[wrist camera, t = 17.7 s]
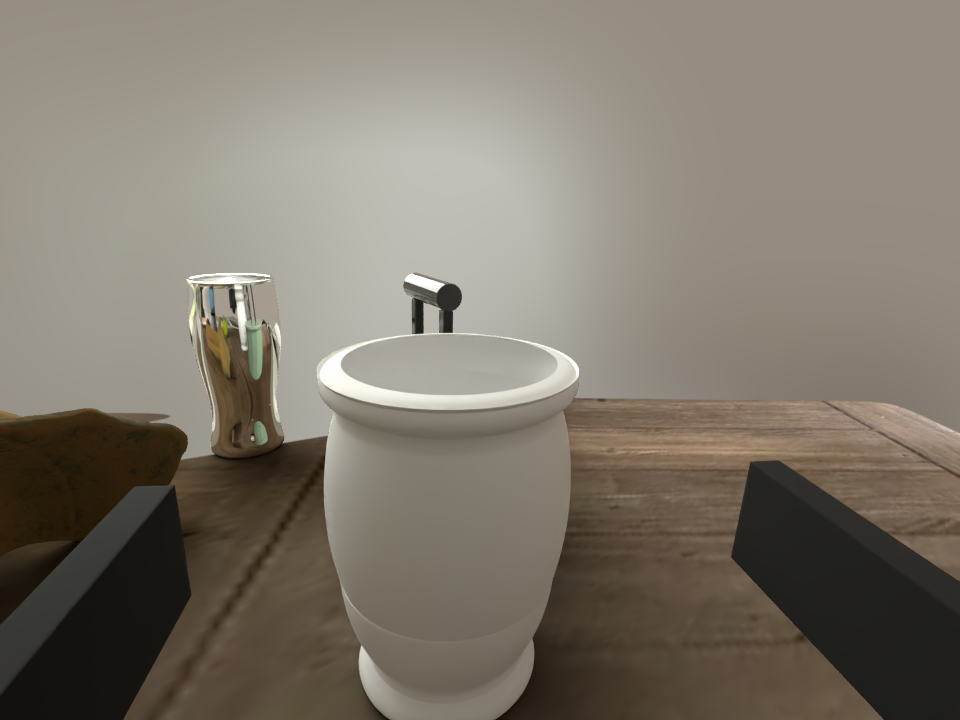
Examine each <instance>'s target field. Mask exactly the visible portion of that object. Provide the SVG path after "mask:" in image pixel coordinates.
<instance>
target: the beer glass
mask: <svg viewBox="0 0 960 720" xmlns="http://www.w3.org/2000/svg"><path fill="white" fill-rule="evenodd" d="M186 282H187V303H188V320H189V330H190V336H191V342H192V347H193V351H194V354H195V358H196V362H197V365H198V368H199V370H200V373H201V377H202V379H203V382H204V385H205V388H206V391H207V394H208V397H209V400H210V405H211V410H212V435H211V449H212V452H213V453H214V454H216V455H218V456H221V457H225V458H248V457H254V456H258V455H262V454H265V453H268V452H270V451H272V450H274V449H276V448H277V447H279V446H280V445H281V444H282V443H283V441H284V432H283V429H282V425H281V422H280V419H279V415H278V411H277V403H276V392H277V380H278V371H279V362H280V348H281V333H280V320H279V310H278V305H277V298H276V293H275V288H274V278H273V277H272V276H269V275H263V274H245V273H240V274H239V273H234V274H211V275H201V276H194V277H190V278H188V279H186Z"/></svg>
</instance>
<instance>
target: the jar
mask: <svg viewBox="0 0 960 720" xmlns="http://www.w3.org/2000/svg"><path fill="white" fill-rule="evenodd" d="M316 373H317V376H318V390H319V393H320V396H321V398H322V399H323V401H324V402H325V403H326V404H327V405H328V406H329V407H330V408H331V409H332V410H333V411H334V413H333V417H332V420H331V424H330V429H329V434H328V439H327V447H326V456H325V470H324V505H325V517H326V526H327V532H328V538H329V544H330V548H331V553H332V556H333V560H334V564H335V567H336V570H337V573H338V576H339V579H340V582H341V589H342V594H343V599H344V603H345V607H346V610H347V613H348V617H349V619H350V622H351V625H352V627H353V630H354V632H355V634H356V636H357V638H358V640H359V642H360V643H361V649H360V654H359V672H360V678H361V682H362V685H363V687H364V690H365V692H366V694H367V696H368V697H369V699H370V700H371V702H372V703H373V705H374V706H375V707H376V708H377V709H378V710H379V711H380V712H381V713H382V714H383V715H384V716H386V717H387V718H388V719H390V720H495V719H497V718H498V717H500V716H501V715H502V714H504V713H505V712H506V711H507V710H508V709H510V708H511V707H512V706H513V704H514V703H515V702H516V701H517V700H518V699H519V697H520V696H521V695H522V693H523V691H524V690H525V688H526V686H527V684H528V682H529V679H530V677H531V674H532V670H533V665H534V644H533V639H532V638H533V636H534V634H535V632H536V630H537V628H538V626H539V624H540V622H541V619H542V617H543V614H544V611H545V608H546V605H547V602H548V598H549V595H550V590H551V586H552V581H553V578H554V575H555V572H556V568H557V565H558V562H559V558H560V554H561V550H562V546H563V542H564V537H565V532H566V527H567V521H568V514H569V504H570V489H571V465H570V448H569V438H568V431H567V425H566V421H565V416H564V413H563V410H564V409H565V408H566V407H567V406H568V405H569V404H570V403H571V402H572V400H573V399H574V397H575V396H576V393H577V390H578V385H579V379H578V374H579V369H578V366H577V364H576V363H575V362H574V361H573V360H572V359H571V358H569V357H568V356H567V355H565V354H563V353H561V352H559V351H557V350H554V349H552V348H550V347H546V346H544V345H540V344H537V343H533V342H529V341H524V340H519V339H514V338H508V337H501V336H492V335H481V334H464V333H433V334H413V335H402V336H394V337H387V338H380V339H376V340H370V341H366V342H361V343H358V344H354V345H351V346H348V347H345V348H342V349H340V350H338V351H335V352H333V353H331V354H330V355H328V356H327V357H325V358H324V359H323V360H322V361H321V362H320V363H319V365H318V367H317V369H316Z"/></svg>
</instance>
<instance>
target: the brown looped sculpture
mask: <svg viewBox="0 0 960 720" xmlns="http://www.w3.org/2000/svg"><path fill="white" fill-rule="evenodd" d="M187 440H188V438H187V435H186V434H185V433H184V432H183V431H181V430H180V429H179V428H178V427H176V426H174V425H171V424H165V423H150V422H146V421H142V422H136V421H133V420H128V419H123V418H119V417H115V416H112V415H109V414H107V413H104V412H101V411H99V410H97V409H92V408H85V409H79V410H73V411H65V412H57V413H51V414H44V415H34V416H25V417H22V416H18V415H15V414H11V413H7V412H3V411H0V556H2V555H3V554H5V553H7V552H9V551H11V550H13V549H16V548H19V547H22V546H25V545H28V544H33V543H42V542H49V541H58V540H80V539H83V538H85V537H86V536H87V535H88V534H89V533H90V532H91V531H92V530H93V529H94V528H95V527H96V526H97V525H98V524H99V523H100V522H101V521H102V520H103V519H104V518H105V517H106V516H107V515H108V514H109V512H110V511H111V510H112V509H113V508H114V507H115V506H116V505H117V504H118V503H119V502H120V501H121V500H122V499H123V498H124V497H125V496H126V495H127V494H128V493H129V492H130V491H131V490H132V489H133V488H134V487H141V486H166V485H169V484H170V482H171V481H172V479H173V477H174V475H175V472H176V470H177V468H178V465H179V462H180V459H181V457H182V455H183V453H184V452H185V451H186V448H187V445H188V441H187Z"/></svg>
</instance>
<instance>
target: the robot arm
mask: <svg viewBox="0 0 960 720" xmlns="http://www.w3.org/2000/svg"><path fill="white" fill-rule="evenodd" d="M731 558H732V559H733V560H734V561H735V562H736V563H737V564H738V565H739V566H740V567H741V568H742V569H743V570H744V571H745V572H746V573H747V575H748V576H749V577H750V578H751V579H752V580H753V581H754V582H755V583H756V584H757V585H758V586H759V587H760V588H761V589H762V590H763V592H764V593H765V594H766V595H767V596H768V597H769V598H770V599H771V600H772V601H773V602H774V603H775V604H776V605H777V606H778V607H779V608H780V610H781V611H782V612H783V613H784V614H785V615H786V616H787V617H788V618H789V619H790V620H791V621H792V622H793V623H794V624H795V625H796V627H797V628H798V629H799V630H800V631H801V632H802V633H803V634H804V635H805V636H806V637H807V638H808V639H809V640H810V641H811V642H812V644H813V645H814V646H815V647H816V648H817V649H818V650H819V651H820V652H821V653H822V654H823V655H824V656H825V657H826V658H827V659H828V661H829V662H830V663H831V664H832V665H833V666H834V667H835V668H836V669H837V670H838V671H839V672H840V673H841V674H842V675H843V676H844V678H845V679H846V680H847V681H848V682H849V683H850V684H851V685H852V686H853V687H854V688H855V689H856V690H857V691H858V692H859V693H860V695H861V696H862V697H863V698H864V699H865V700H866V701H867V702H868V703H869V704H870V705H871V706H872V707H873V708H874V709H875V710H876V712H877V713H878V714H879V715H880V716H881V717H882V718H883V719H884V720H960V581H958V580H956V579H955V578H953V577H952V576H950V575H949V574H947V573H946V572H944V571H943V570H941V569H940V568H938V567H937V566H935V565H934V564H932V563H931V562H929V561H928V560H926V559H925V558H923V557H922V556H920V555H919V554H917V553H916V552H914V551H913V550H911V549H910V548H908V547H907V546H906V545H904V544H903V543H901V542H900V541H898V540H897V539H895V538H894V537H892V536H891V535H889V534H888V533H886V532H885V531H883V530H882V529H880V528H879V527H877V526H876V525H874V524H873V523H871V522H870V521H868V520H867V519H865V518H864V517H862V516H861V515H859V514H858V513H856V512H855V511H853V510H852V509H850V508H849V507H847V506H846V505H844V504H843V503H841V502H840V501H838V500H837V499H835V498H834V497H832V496H831V495H829V494H828V493H826V492H825V491H823V490H822V489H820V488H819V487H817V486H816V485H814V484H813V483H811V482H810V481H808V480H807V479H806V478H804V477H803V476H801V475H800V474H798V473H797V472H795V471H794V470H792V469H791V468H789V467H788V466H786V465H785V464H783V463H782V462H780V461H755V462H750V467H749V472H748V477H747V482H746V487H745V492H744V496H743V501H742V506H741V511H740V516H739V521H738V526H737V531H736V536H735V540H734V545H733V550H732V555H731ZM190 597H191V590H190V583H189V577H188V570H187V564H186V557H185V550H184V544H183V537H182V530H181V524H180V517H179V511H178V504H177V497H176V491H175V485H166V486H141V487H134V488H133V489H132V490H131V491H130V492H129V493H128V494H127V495H126V496H125V497H124V498H123V499H122V500H121V501H120V502H119V503H118V504H117V505H116V506H115V507H114V508H113V509H112V510H111V511H110V512H109V514H108V515H107V516H106V517H105V518H104V519H103V520H102V521H101V522H100V523H99V524H98V525H97V526H96V527H95V528H94V529H93V530H92V531H91V532H90V533H89V534H88V535H87V536H86V537H85V538H84V539H83V540H82V541H81V542H80V543H79V544H78V546H77V547H76V548H75V549H74V550H73V551H72V552H71V553H70V554H69V555H68V556H67V557H66V558H65V559H64V560H63V561H62V562H61V563H60V564H59V565H58V566H57V567H56V568H55V569H54V570H53V571H52V572H51V573H50V574H49V575H48V577H47V578H46V579H45V580H44V581H43V582H42V583H41V584H40V585H39V586H38V587H37V588H36V589H35V590H34V591H33V592H32V593H31V594H30V595H29V596H28V597H27V598H26V599H25V600H24V601H23V602H22V603H21V604H20V605H19V606H18V607H17V609H16V610H15V611H14V612H13V613H12V614H11V615H10V616H9V617H8V618H7V619H6V620H5V621H4V622H3V623H2V624H1V625H0V720H123V719H124V717H125V715H126V713H127V711H128V710H129V708H130V706H131V704H132V702H133V701H134V699H135V697H136V695H137V693H138V691H139V690H140V688H141V686H142V684H143V682H144V681H145V679H146V677H147V675H148V673H149V671H150V670H151V668H152V666H153V664H154V662H155V660H156V659H157V657H158V655H159V653H160V651H161V650H162V648H163V646H164V644H165V642H166V640H167V639H168V637H169V635H170V633H171V631H172V630H173V628H174V626H175V624H176V622H177V620H178V619H179V617H180V615H181V613H182V611H183V610H184V608H185V606H186V604H187V602H188V600H189V599H190Z"/></svg>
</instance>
